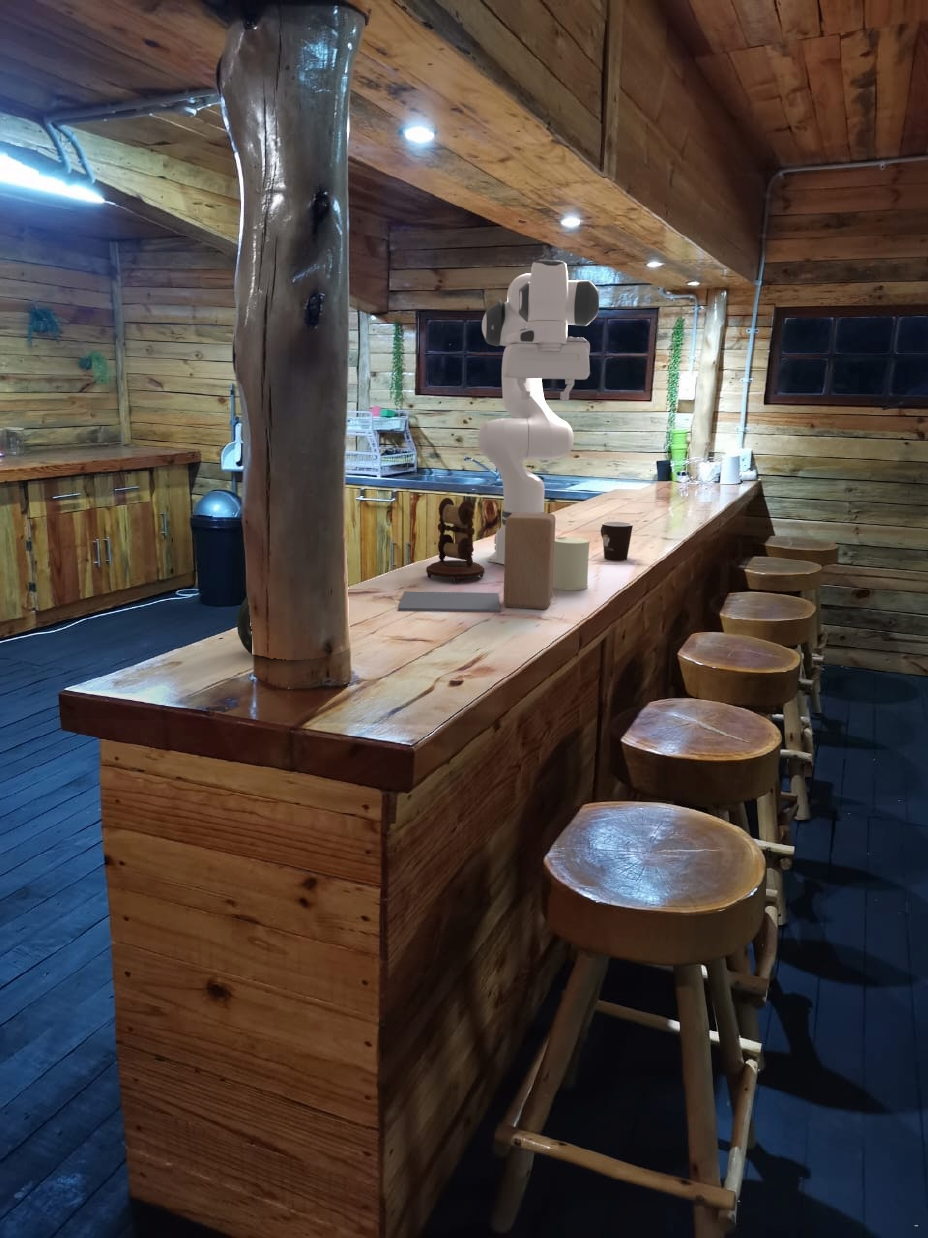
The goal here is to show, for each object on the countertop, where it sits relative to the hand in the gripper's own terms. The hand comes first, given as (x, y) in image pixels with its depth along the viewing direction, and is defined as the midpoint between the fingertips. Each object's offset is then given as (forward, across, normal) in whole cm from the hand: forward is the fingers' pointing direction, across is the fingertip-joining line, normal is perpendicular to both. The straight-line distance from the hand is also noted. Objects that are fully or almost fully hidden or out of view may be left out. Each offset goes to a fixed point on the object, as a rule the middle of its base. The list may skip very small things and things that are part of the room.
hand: (545, 399), depth 203 cm
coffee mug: (+44, -36, -36) cm, 67 cm away
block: (+45, +7, +12) cm, 47 cm away
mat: (+45, +24, +7) cm, 51 cm away
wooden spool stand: (+44, +16, -19) cm, 51 cm away
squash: (+46, +64, +38) cm, 87 cm away
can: (+44, -9, -3) cm, 46 cm away
